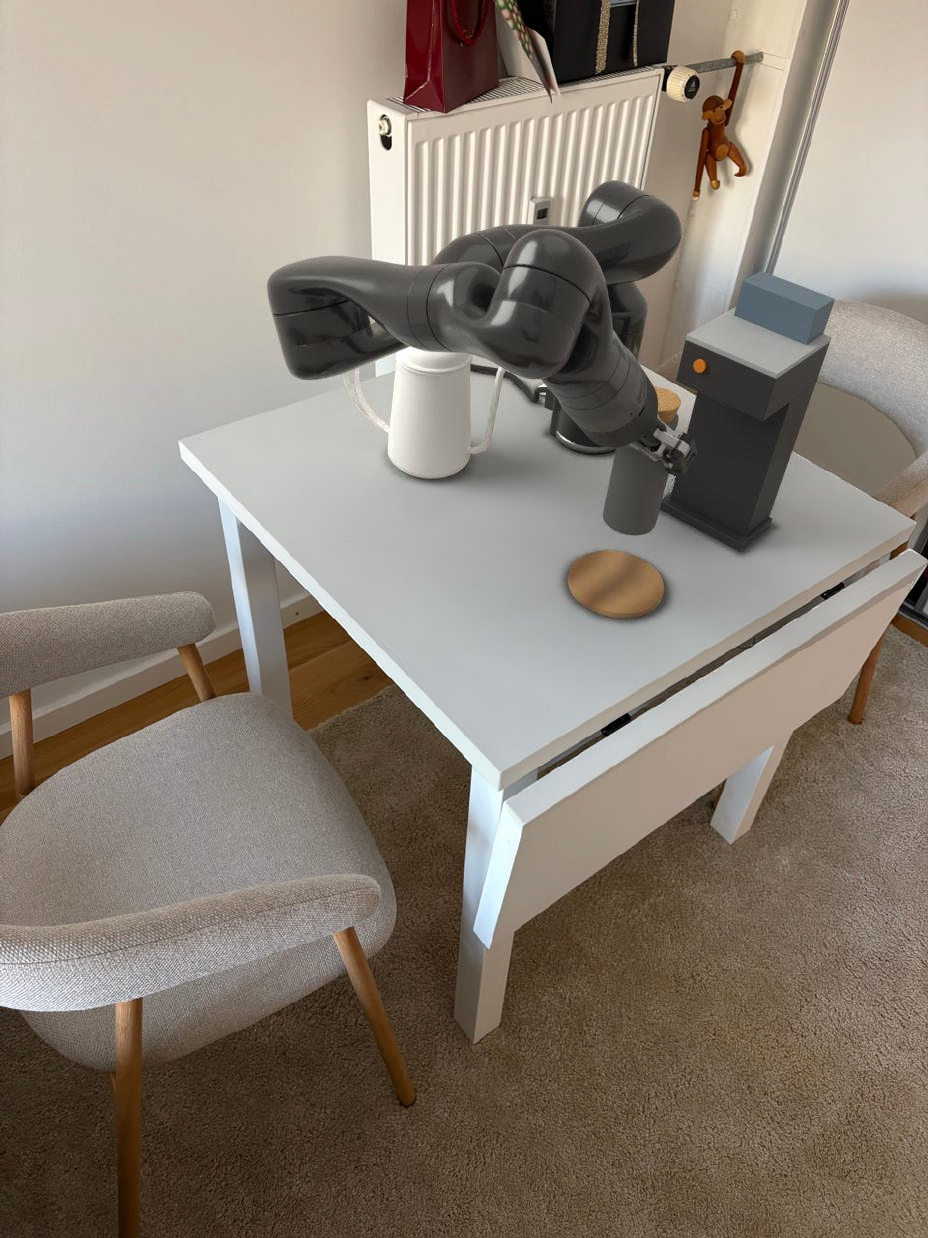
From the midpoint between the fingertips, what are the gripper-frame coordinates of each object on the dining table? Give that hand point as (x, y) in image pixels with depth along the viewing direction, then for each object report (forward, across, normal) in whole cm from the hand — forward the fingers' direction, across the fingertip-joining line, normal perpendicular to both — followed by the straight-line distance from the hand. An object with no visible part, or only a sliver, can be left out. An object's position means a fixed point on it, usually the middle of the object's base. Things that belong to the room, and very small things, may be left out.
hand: (652, 453), depth 103 cm
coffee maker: (+24, +1, -1) cm, 24 cm away
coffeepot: (+14, -32, -11) cm, 36 cm away
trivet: (+11, 0, -13) cm, 17 cm away
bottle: (+4, 0, -7) cm, 8 cm away
